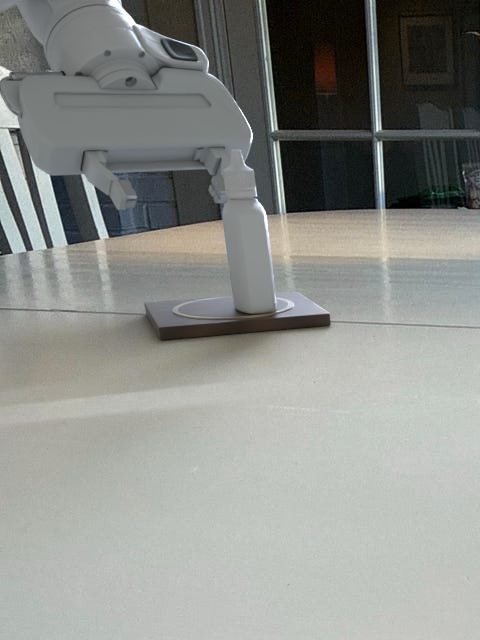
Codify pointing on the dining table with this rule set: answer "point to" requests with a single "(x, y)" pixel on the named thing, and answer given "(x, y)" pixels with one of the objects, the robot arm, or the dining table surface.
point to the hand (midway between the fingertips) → (178, 201)
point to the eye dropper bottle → (247, 241)
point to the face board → (231, 316)
